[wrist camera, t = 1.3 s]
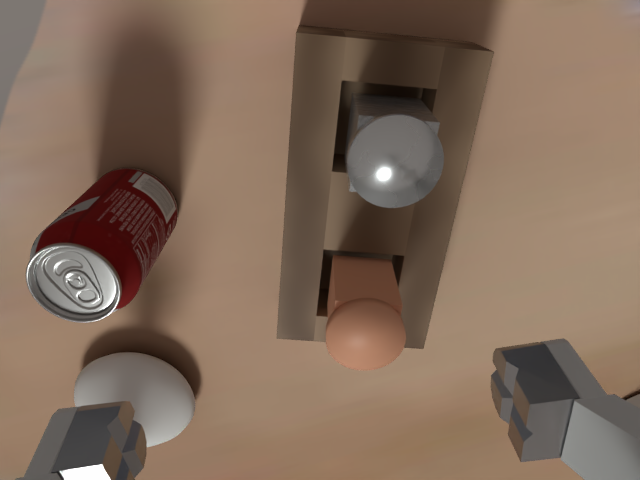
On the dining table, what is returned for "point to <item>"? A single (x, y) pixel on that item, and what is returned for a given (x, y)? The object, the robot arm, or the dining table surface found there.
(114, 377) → the flower in vase
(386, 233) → the walnut block
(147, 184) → the soda can
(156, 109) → the dining table surface
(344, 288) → the terracotta plunger
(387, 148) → the metal plunger
